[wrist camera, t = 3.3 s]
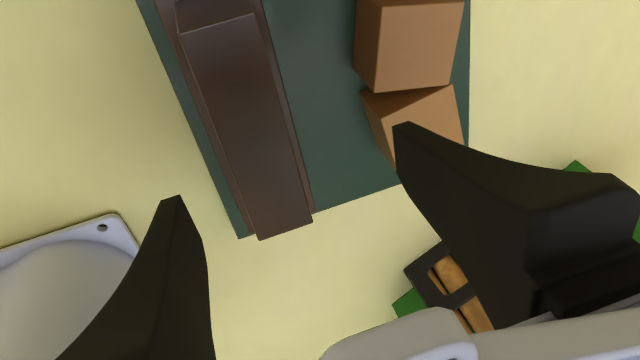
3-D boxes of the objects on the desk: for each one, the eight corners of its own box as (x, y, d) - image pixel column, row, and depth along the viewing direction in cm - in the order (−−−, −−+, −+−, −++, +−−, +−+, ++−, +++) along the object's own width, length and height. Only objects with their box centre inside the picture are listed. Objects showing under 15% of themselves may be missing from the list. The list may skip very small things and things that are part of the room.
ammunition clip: (520, 183, 34) (661, 314, 24) (528, 196, 35) (666, 326, 25) (402, 270, 35) (491, 423, 26) (414, 280, 37) (502, 430, 27)
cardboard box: (377, 147, 27) (399, 176, 24) (358, 92, 24) (380, 119, 22) (437, 117, 27) (464, 144, 24) (424, 60, 24) (453, 83, 22)
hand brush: (236, 198, 26) (256, 286, 21) (123, -83, 17) (109, -51, 12) (304, 175, 26) (341, 256, 21) (227, -111, 18) (258, -91, 12)
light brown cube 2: (351, 68, 23) (373, 93, 21) (356, -12, 21) (381, 6, 19) (420, 62, 24) (449, 85, 22) (432, -16, 22) (465, 1, 20)
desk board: (235, 226, 28) (238, 239, 28) (63, -178, 16) (57, -180, 15) (458, 150, 30) (468, 160, 29) (458, -271, 18) (475, -277, 17)
